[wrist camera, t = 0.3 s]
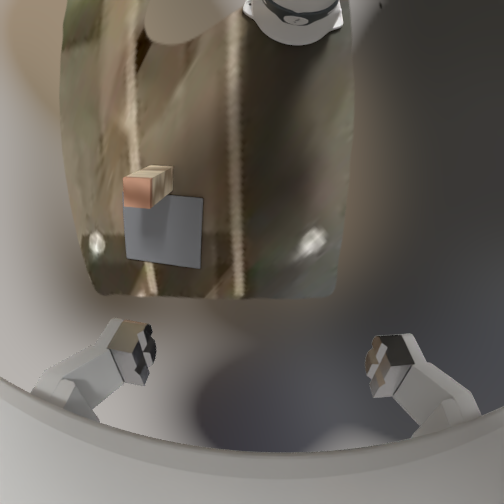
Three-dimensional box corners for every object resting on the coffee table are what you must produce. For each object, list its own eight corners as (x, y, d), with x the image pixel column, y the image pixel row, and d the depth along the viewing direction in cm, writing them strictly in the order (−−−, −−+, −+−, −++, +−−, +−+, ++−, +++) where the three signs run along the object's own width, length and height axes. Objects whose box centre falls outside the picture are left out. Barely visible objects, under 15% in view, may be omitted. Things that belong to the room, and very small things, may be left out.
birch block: (150, 165, 52) (123, 177, 41) (173, 166, 52) (150, 179, 41) (150, 188, 54) (124, 206, 44) (172, 190, 54) (150, 208, 44)
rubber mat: (123, 191, 55) (122, 192, 54) (203, 198, 55) (202, 198, 54) (127, 257, 62) (126, 258, 62) (200, 267, 62) (199, 268, 62)
